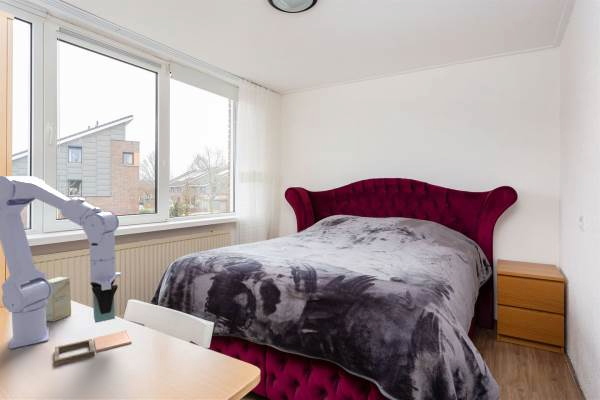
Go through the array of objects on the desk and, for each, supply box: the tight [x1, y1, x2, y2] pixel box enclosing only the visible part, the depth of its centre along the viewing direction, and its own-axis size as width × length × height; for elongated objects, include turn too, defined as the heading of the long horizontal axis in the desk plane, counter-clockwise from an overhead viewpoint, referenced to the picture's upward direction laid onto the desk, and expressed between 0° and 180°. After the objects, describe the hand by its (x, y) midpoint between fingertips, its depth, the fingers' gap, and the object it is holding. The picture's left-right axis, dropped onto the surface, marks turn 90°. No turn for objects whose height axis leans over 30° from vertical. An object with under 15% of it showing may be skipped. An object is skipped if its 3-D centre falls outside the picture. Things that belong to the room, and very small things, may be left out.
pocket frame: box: [54, 338, 96, 367], centre depth 85 cm, size 8×8×1 cm
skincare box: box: [45, 276, 72, 322], centre depth 108 cm, size 6×4×12 cm
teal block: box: [92, 292, 116, 323], centre depth 90 cm, size 4×4×7 cm
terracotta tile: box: [93, 330, 132, 353], centre depth 92 cm, size 8×8×1 cm
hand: (104, 309), depth 90 cm, fingers closed on teal block, 4 cm apart
